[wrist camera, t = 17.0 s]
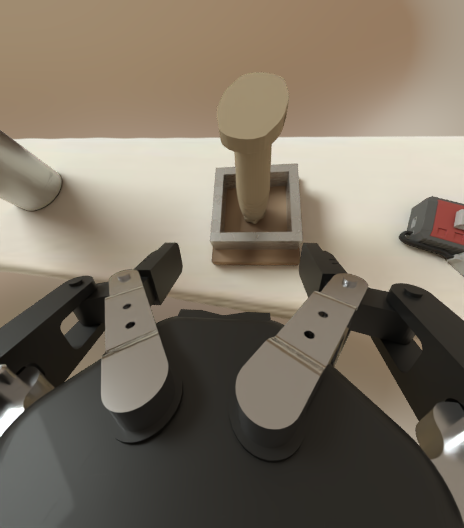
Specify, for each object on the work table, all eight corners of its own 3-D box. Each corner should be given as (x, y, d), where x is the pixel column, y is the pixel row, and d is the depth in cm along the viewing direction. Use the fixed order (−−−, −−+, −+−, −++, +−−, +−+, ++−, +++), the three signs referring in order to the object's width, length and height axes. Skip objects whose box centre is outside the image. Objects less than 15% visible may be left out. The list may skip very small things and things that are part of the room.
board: (213, 264, 28) (211, 261, 26) (220, 179, 32) (218, 173, 30) (297, 265, 26) (300, 262, 25) (292, 176, 30) (294, 169, 29)
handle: (274, 199, 28) (296, 74, 14) (263, 238, 26) (274, 143, 12) (243, 193, 29) (233, 70, 14) (231, 230, 27) (205, 134, 13)
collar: (214, 249, 27) (210, 241, 24) (219, 182, 30) (215, 167, 27) (297, 249, 25) (302, 240, 22) (293, 179, 28) (297, 163, 26)
